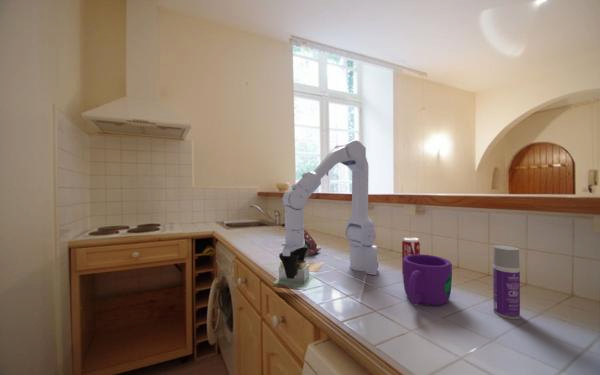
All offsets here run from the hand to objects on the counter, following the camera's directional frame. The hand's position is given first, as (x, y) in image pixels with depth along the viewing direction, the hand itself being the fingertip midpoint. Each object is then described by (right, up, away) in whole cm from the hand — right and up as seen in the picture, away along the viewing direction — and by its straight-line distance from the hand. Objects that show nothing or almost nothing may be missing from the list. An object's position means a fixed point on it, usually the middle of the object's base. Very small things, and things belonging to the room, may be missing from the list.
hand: (294, 273), depth 78 cm
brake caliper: (+4, -3, +30) cm, 30 cm away
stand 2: (+4, -3, +12) cm, 13 cm away
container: (+48, -3, -20) cm, 52 cm away
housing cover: (0, +2, 0) cm, 2 cm away
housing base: (0, -2, 0) cm, 2 cm away
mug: (+32, -3, -14) cm, 35 cm away
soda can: (+37, -2, +5) cm, 38 cm away
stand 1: (0, -3, 0) cm, 3 cm away
